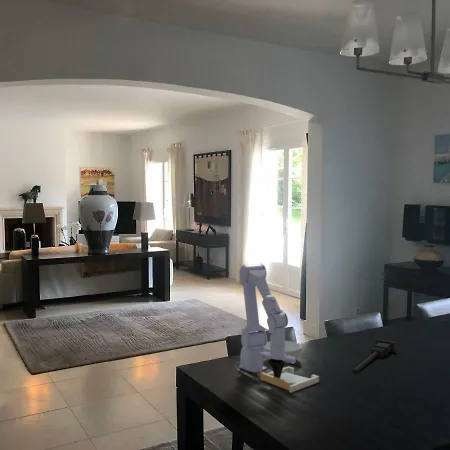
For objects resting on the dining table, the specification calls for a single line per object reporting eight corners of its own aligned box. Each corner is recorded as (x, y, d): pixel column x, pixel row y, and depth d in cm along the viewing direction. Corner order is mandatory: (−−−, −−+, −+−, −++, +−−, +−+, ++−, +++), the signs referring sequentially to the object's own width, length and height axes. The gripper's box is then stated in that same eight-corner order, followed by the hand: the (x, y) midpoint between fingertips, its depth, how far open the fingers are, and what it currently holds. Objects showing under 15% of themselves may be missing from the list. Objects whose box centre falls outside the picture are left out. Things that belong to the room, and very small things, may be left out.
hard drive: (273, 377, 203) (299, 384, 195) (285, 371, 209) (311, 378, 201) (273, 381, 203) (299, 388, 195) (285, 375, 209) (311, 382, 201)
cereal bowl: (289, 370, 214) (288, 353, 213) (255, 362, 224) (255, 346, 223) (308, 359, 227) (308, 343, 227) (276, 352, 237) (276, 337, 237)
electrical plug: (397, 349, 241) (397, 339, 240) (365, 379, 207) (365, 367, 207) (379, 346, 246) (379, 336, 245) (345, 375, 213) (344, 363, 212)
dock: (254, 379, 203) (254, 373, 203) (283, 369, 214) (283, 364, 214) (289, 393, 189) (289, 387, 189) (319, 381, 200) (319, 376, 200)
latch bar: (256, 378, 203) (256, 371, 203) (259, 377, 205) (259, 369, 204) (288, 390, 190) (288, 382, 190) (291, 389, 192) (291, 381, 191)
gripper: (299, 344, 198) (299, 378, 198) (266, 338, 206) (266, 371, 207) (290, 348, 192) (290, 384, 193) (257, 342, 200) (257, 377, 201)
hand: (277, 378), depth 199 cm, fingers closed
